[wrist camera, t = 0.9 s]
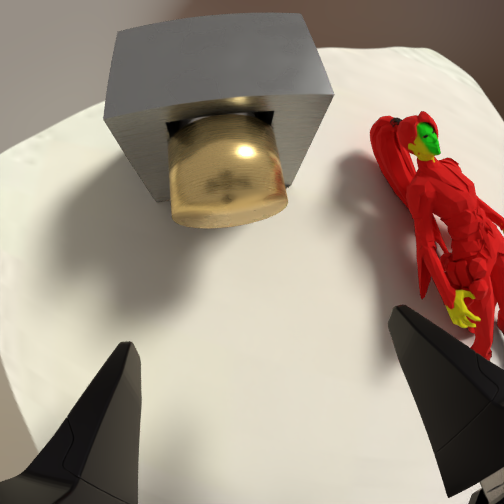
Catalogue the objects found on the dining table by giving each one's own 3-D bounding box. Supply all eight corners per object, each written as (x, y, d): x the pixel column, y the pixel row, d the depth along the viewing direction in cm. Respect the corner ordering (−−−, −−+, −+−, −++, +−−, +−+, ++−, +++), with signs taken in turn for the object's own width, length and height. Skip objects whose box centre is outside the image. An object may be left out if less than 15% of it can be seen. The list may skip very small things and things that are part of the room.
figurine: (498, 434, 17) (365, 111, 16) (445, 408, 26) (317, 156, 25) (553, 349, 19) (453, 73, 18) (502, 339, 28) (401, 111, 27)
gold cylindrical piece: (278, 220, 19) (298, 183, 13) (181, 233, 19) (160, 200, 13) (258, 114, 20) (267, 55, 15) (174, 124, 20) (158, 67, 14)
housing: (290, 185, 25) (334, 94, 13) (156, 201, 24) (103, 119, 12) (276, 115, 26) (300, 13, 14) (154, 129, 25) (117, 31, 13)
